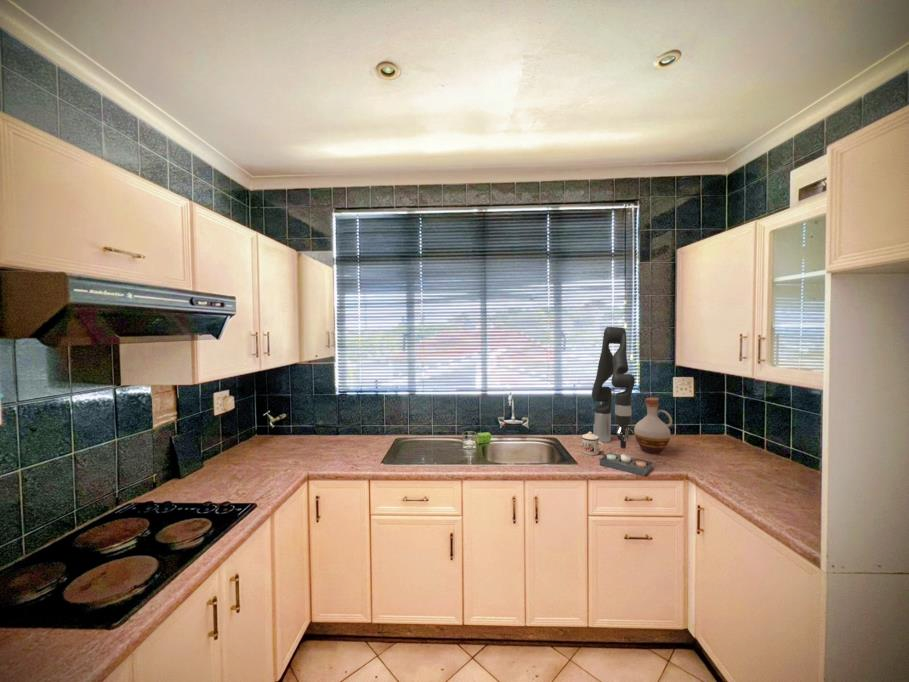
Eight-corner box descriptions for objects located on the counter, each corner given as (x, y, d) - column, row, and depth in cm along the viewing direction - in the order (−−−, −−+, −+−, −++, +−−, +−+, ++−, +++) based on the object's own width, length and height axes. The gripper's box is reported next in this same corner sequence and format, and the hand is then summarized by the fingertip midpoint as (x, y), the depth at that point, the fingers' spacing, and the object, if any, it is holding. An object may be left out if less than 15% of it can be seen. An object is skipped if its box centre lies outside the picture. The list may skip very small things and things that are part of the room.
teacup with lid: (578, 452, 200) (578, 432, 199) (585, 448, 206) (585, 428, 206) (600, 458, 191) (600, 436, 191) (606, 453, 198) (606, 432, 197)
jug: (664, 446, 208) (664, 395, 207) (680, 457, 190) (680, 401, 189) (629, 445, 210) (629, 395, 209) (641, 456, 192) (642, 401, 191)
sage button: (605, 462, 184) (605, 455, 184) (608, 460, 187) (608, 453, 187) (614, 464, 181) (614, 457, 181) (617, 462, 184) (617, 455, 184)
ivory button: (619, 462, 179) (619, 455, 179) (622, 460, 182) (622, 453, 182) (628, 465, 176) (628, 458, 176) (631, 462, 179) (631, 455, 179)
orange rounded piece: (634, 469, 174) (634, 462, 174) (637, 466, 177) (637, 459, 177) (644, 471, 171) (644, 464, 171) (647, 469, 174) (647, 462, 174)
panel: (599, 465, 182) (599, 459, 182) (609, 458, 191) (609, 452, 191) (644, 476, 167) (644, 470, 167) (652, 468, 177) (652, 462, 176)
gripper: (620, 410, 186) (620, 443, 186) (610, 414, 177) (610, 449, 177) (635, 412, 181) (635, 446, 181) (626, 417, 171) (626, 453, 172)
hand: (623, 447), depth 179 cm, fingers closed
